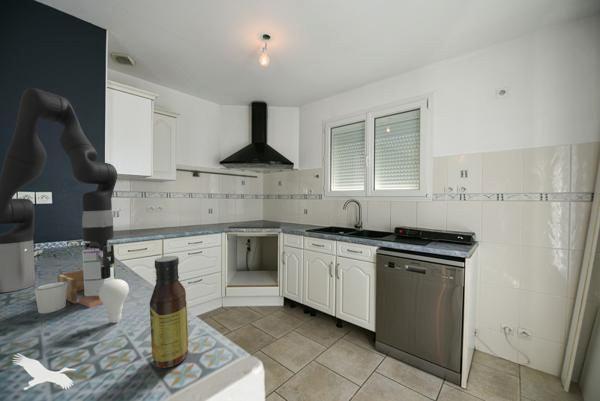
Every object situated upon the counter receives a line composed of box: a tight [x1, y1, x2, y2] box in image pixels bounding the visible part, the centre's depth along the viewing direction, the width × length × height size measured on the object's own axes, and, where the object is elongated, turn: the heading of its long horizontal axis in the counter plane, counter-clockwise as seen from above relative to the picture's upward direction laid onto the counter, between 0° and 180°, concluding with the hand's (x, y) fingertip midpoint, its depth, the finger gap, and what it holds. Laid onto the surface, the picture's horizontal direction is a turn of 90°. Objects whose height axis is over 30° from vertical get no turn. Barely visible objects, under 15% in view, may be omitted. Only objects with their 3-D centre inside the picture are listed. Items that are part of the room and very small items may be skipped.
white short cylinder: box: [33, 281, 68, 314], centre depth 71 cm, size 7×7×7 cm
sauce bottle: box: [149, 255, 189, 369], centre depth 47 cm, size 6×6×20 cm
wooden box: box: [57, 269, 84, 304], centre depth 82 cm, size 13×10×7 cm
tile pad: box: [78, 296, 104, 309], centre depth 77 cm, size 8×8×1 cm
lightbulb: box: [99, 278, 130, 324], centre depth 62 cm, size 6×6×11 cm
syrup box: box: [81, 248, 117, 297], centre depth 77 cm, size 6×6×14 cm
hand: (99, 276), depth 77 cm, fingers closed on syrup box, 7 cm apart
